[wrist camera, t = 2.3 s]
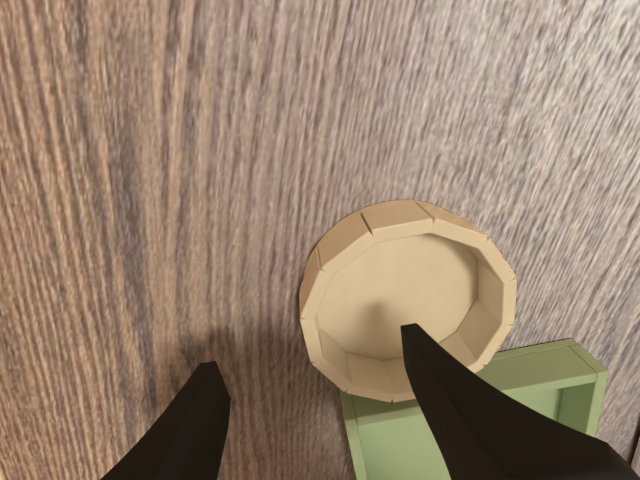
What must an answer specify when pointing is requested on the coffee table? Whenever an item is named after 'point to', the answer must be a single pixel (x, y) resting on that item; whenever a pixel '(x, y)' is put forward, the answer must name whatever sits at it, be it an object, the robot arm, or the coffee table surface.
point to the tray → (501, 372)
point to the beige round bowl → (402, 295)
